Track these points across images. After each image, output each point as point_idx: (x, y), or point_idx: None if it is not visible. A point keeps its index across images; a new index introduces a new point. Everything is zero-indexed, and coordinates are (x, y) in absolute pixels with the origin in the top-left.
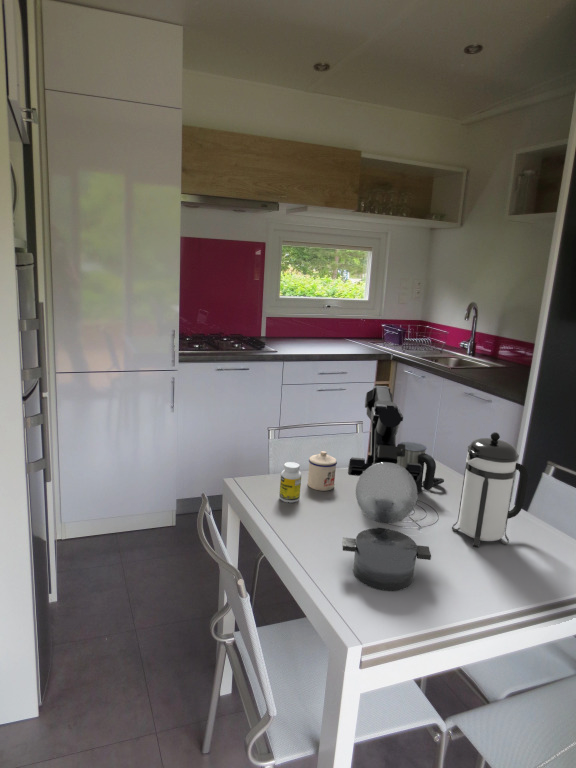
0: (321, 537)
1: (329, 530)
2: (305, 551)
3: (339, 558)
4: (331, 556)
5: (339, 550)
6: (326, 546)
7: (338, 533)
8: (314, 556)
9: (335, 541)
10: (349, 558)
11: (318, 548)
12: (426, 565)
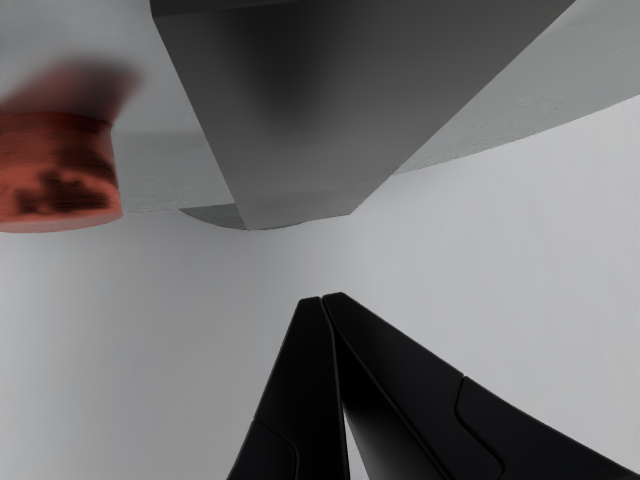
0: (628, 324)
1: (623, 433)
2: (634, 158)
3: (471, 155)
4: (511, 158)
5: (494, 225)
6: (566, 239)
7: (562, 416)
8: (580, 132)
9: (544, 310)
10: (428, 171)
11: (593, 205)
12: (37, 247)
